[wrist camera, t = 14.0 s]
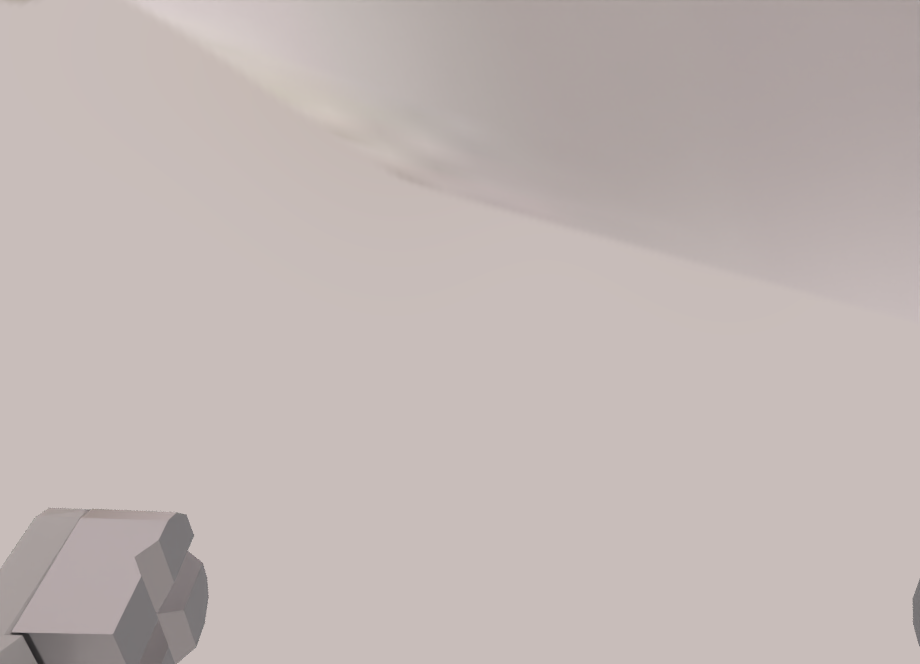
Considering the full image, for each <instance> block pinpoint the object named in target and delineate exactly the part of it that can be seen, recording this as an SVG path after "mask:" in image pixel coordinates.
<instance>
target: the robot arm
mask: <svg viewBox="0 0 920 664" xmlns="http://www.w3.org/2000/svg"><path fill="white" fill-rule="evenodd" d="M193 537H194V534H193V531H192V529H191V526H190V523H189V520H188V518H187V515H185V514H181V513H177V512H155V511H131V510H106V509H92V510H91V509H65V508H48V509H47V510H45V511H44V512H42V513H41V514H39V515H38V516H36V517H35V518H34V520H33V521H32V523H31V524H30V526H29V527H28V529H27V530H26V531H25V533H24V535H23V536H22V537H21V539H20V540H19V542H18V543H17V545H16V547H15V548H14V549H13V551H12V552H11V554H10V555H9V557H8V558H7V560H6V561H5V563H4V564H3V566H2V567H1V569H0V664H177V663H178V662H179V661H180V660H182V659H183V658H184V657H185V656H186V655H188V654H189V653H190V652H191V651H192V650H193V649H195V648H196V646H197V643H198V641H199V638H200V635H201V632H202V629H203V626H204V623H205V617H206V610H207V603H208V584H207V576H206V573H205V569H204V566H203V563H202V562H201V561H200V560H199V559H197V558H196V557H195V556H193V555H192V554H191V553H190V552H188V548H189V546H190V544H191V542H192V539H193ZM913 625H914V629H915V632H916V636H917V639H918V643H919V646H920V580H919V583H918V586H917V588H916V591H915V594H914V597H913Z"/></svg>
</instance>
